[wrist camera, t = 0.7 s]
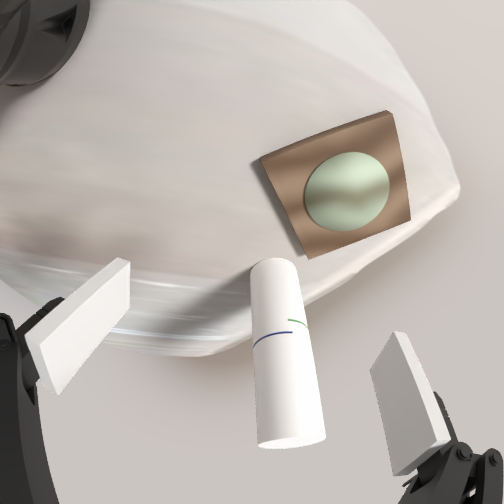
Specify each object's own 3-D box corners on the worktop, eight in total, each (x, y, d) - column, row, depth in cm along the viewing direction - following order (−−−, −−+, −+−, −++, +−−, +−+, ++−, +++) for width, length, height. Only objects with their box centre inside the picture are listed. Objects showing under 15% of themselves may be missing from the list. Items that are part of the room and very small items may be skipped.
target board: (260, 157, 31) (261, 163, 30) (386, 110, 27) (393, 114, 26) (306, 252, 41) (308, 261, 39) (406, 214, 37) (411, 221, 35)
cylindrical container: (249, 258, 41) (258, 439, 22) (299, 257, 41) (333, 431, 22) (249, 291, 46) (257, 450, 27) (293, 290, 46) (317, 444, 27)
